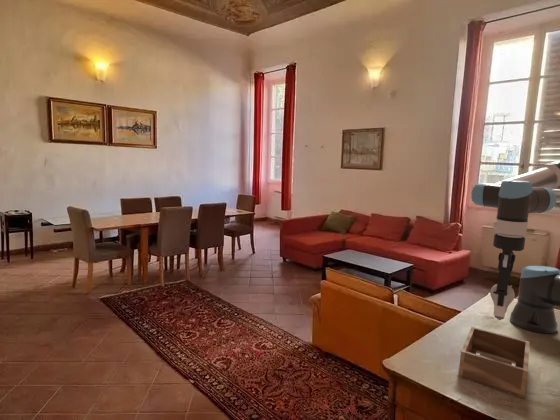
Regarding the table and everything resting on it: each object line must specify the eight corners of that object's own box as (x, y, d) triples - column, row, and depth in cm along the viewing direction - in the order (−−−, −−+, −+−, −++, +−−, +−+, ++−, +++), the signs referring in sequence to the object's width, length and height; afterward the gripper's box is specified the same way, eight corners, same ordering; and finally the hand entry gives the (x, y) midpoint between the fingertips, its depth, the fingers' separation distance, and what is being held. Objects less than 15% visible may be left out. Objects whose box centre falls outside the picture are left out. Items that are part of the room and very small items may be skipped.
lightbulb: (482, 316, 109) (486, 281, 108) (497, 314, 111) (501, 279, 110) (500, 325, 104) (505, 288, 102) (516, 322, 106) (521, 286, 104)
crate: (469, 348, 122) (471, 326, 121) (526, 365, 113) (529, 341, 112) (458, 376, 106) (461, 351, 105) (524, 398, 97) (527, 371, 96)
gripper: (497, 228, 114) (489, 299, 117) (490, 238, 98) (481, 319, 102) (526, 231, 109) (517, 305, 113) (524, 242, 94) (512, 327, 97)
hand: (500, 311), depth 107 cm, fingers closed on lightbulb, 6 cm apart
